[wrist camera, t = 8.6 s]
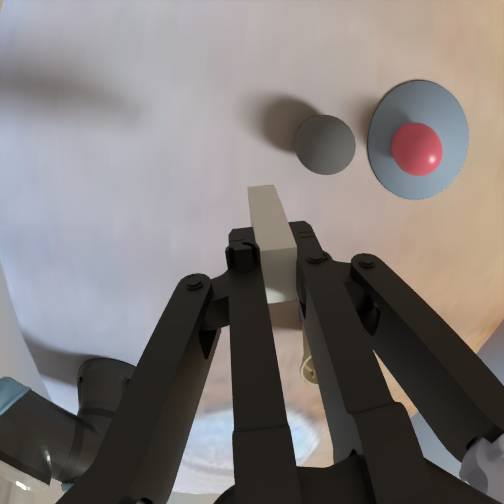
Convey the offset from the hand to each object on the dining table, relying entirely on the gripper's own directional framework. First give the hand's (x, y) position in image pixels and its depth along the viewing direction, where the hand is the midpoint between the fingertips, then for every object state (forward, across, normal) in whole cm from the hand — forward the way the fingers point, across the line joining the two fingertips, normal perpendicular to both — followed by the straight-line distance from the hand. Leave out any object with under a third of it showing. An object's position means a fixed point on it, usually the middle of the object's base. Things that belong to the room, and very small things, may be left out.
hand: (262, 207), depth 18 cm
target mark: (+13, -19, 0) cm, 23 cm away
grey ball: (+11, -7, -1) cm, 13 cm away
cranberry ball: (+10, -17, 0) cm, 20 cm away
